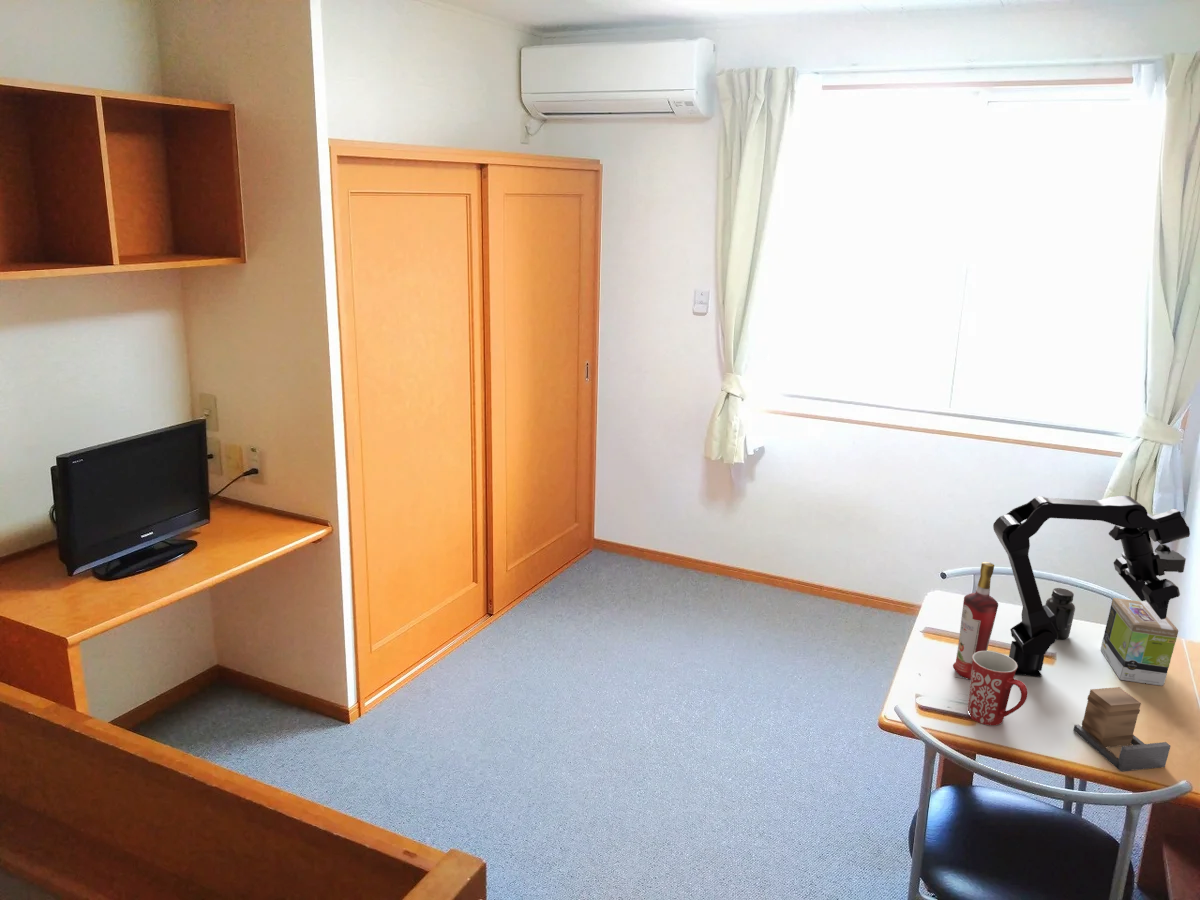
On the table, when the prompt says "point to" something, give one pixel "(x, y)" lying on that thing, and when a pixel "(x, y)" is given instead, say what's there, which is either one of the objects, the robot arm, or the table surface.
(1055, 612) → the supplement bottle
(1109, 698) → the chest
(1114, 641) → the tea box
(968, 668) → the liquor
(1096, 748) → the bay
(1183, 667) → the table surface
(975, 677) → the mug
